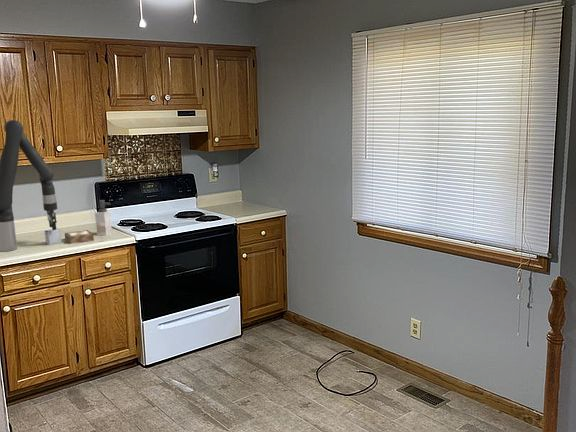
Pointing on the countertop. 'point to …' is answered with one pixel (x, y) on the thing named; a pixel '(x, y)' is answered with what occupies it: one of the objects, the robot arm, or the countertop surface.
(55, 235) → the medicine box
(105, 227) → the soap dispenser
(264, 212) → the countertop surface
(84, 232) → the walnut plinth
